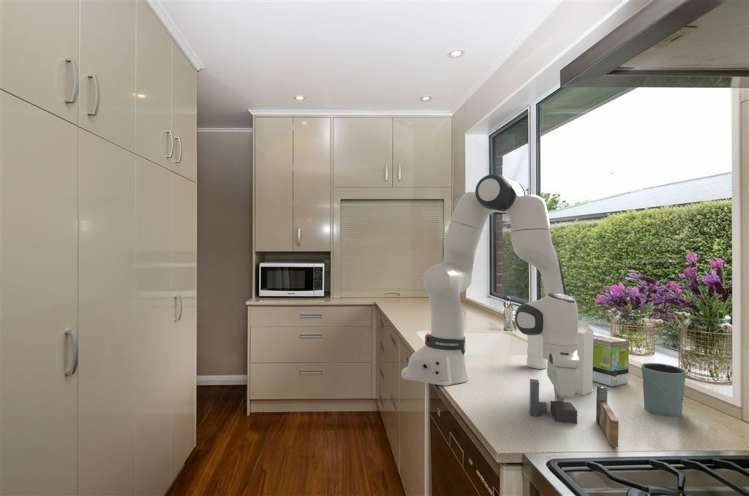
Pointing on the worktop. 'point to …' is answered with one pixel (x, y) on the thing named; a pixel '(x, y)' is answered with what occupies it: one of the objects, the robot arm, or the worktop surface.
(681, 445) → the worktop surface
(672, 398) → the grey green cup
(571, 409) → the block
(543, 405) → the post
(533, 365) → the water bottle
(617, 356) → the tea box
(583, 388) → the milk
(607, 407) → the gate
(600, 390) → the hinge post
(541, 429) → the worktop surface
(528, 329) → the robot arm
